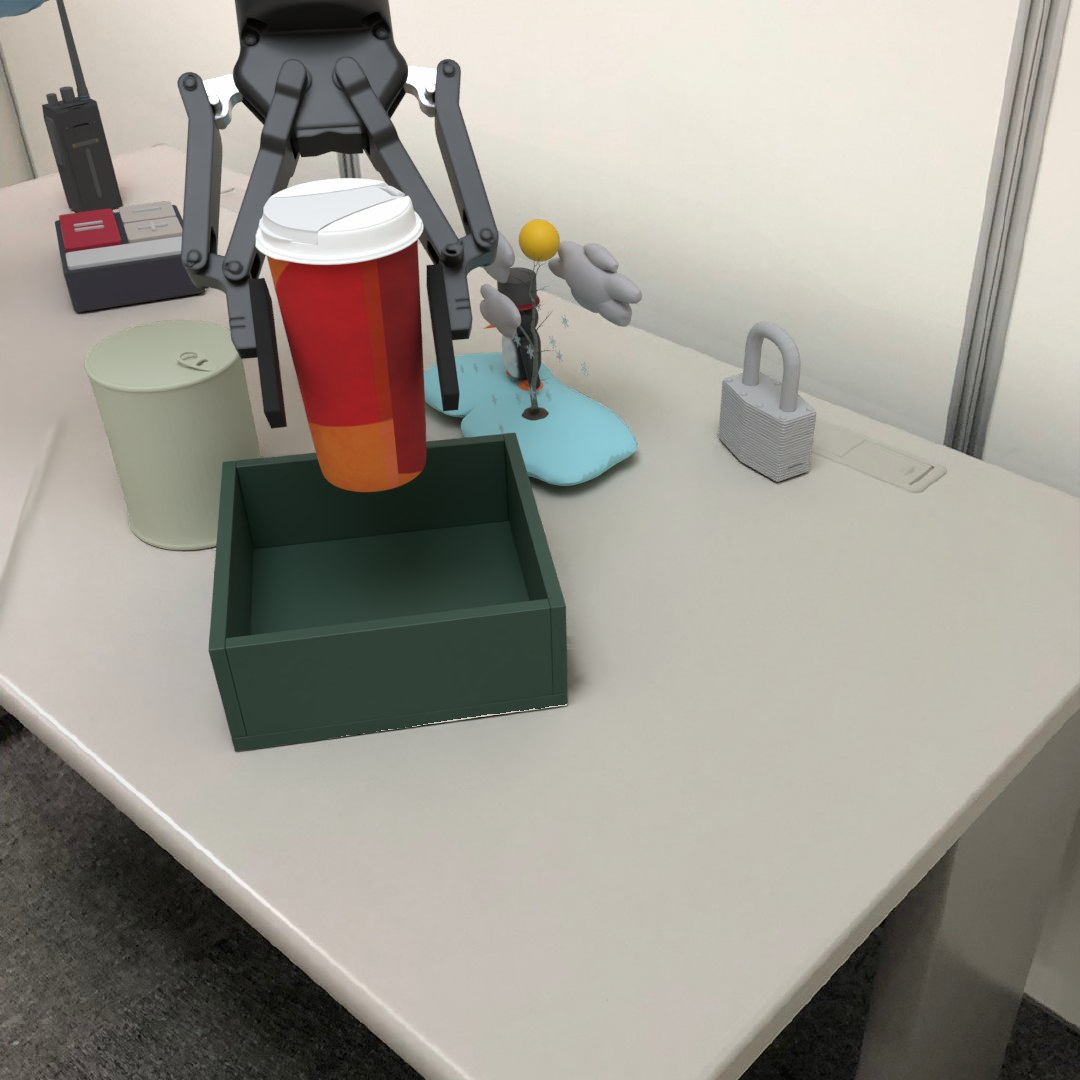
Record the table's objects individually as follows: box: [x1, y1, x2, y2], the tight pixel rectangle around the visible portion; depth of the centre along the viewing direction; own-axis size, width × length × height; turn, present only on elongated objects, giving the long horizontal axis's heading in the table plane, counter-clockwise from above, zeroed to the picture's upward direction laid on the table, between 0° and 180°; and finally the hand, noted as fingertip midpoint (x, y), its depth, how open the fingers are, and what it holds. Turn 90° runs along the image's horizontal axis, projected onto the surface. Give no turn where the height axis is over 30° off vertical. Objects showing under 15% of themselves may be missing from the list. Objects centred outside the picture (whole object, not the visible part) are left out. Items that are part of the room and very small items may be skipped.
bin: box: [207, 433, 569, 753], centre depth 69 cm, size 18×18×7 cm
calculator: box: [54, 200, 206, 313], centre depth 109 cm, size 11×4×15 cm
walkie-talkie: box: [41, 0, 123, 213], centre depth 117 cm, size 5×3×20 cm
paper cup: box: [255, 177, 427, 492], centre depth 60 cm, size 8×8×14 cm
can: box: [83, 319, 263, 551], centre depth 77 cm, size 9×9×12 cm
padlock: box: [717, 320, 817, 483], centre depth 83 cm, size 7×4×10 cm, turn 31°
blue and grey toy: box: [424, 218, 643, 487], centre depth 84 cm, size 20×11×15 cm, turn 32°
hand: (364, 410), depth 59 cm, fingers closed on paper cup, 8 cm apart
